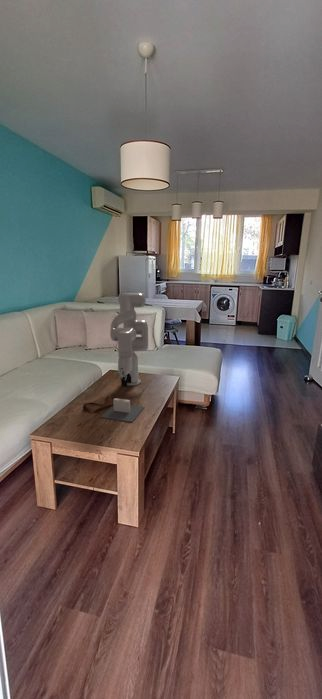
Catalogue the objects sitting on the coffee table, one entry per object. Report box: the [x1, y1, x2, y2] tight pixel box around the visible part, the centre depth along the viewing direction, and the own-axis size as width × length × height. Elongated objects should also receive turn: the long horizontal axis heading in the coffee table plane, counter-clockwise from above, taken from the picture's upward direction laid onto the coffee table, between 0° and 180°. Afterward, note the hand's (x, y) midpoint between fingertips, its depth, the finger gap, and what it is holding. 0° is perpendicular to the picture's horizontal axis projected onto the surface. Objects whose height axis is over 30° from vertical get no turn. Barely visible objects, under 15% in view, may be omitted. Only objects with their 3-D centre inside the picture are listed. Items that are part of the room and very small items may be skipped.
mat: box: [100, 404, 145, 424], centre depth 179 cm, size 18×18×1 cm
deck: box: [112, 397, 131, 413], centre depth 179 cm, size 2×9×6 cm, turn 73°
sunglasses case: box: [82, 395, 114, 415], centre depth 186 cm, size 18×7×7 cm
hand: (126, 384), depth 183 cm, fingers open, 5 cm apart
